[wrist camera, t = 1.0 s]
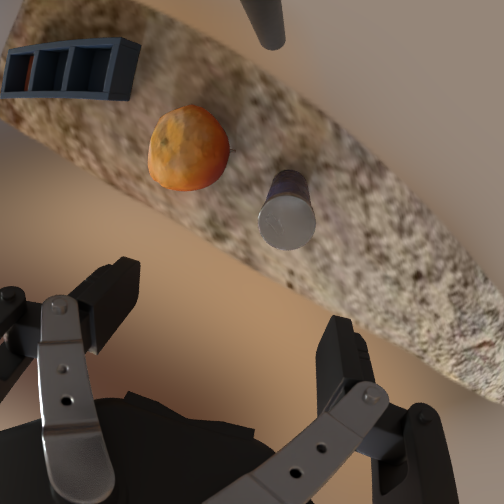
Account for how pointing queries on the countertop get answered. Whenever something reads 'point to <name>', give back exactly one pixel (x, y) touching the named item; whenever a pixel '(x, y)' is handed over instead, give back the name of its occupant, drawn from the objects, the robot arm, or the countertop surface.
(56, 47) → the rack
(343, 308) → the countertop surface
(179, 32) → the countertop surface
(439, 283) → the countertop surface
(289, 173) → the thermos
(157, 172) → the fruit
